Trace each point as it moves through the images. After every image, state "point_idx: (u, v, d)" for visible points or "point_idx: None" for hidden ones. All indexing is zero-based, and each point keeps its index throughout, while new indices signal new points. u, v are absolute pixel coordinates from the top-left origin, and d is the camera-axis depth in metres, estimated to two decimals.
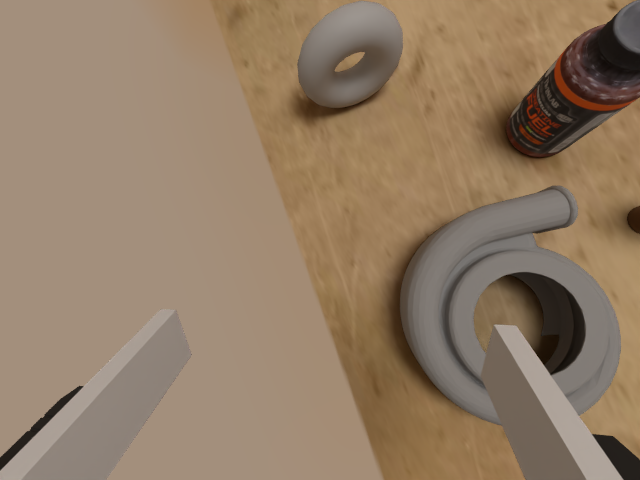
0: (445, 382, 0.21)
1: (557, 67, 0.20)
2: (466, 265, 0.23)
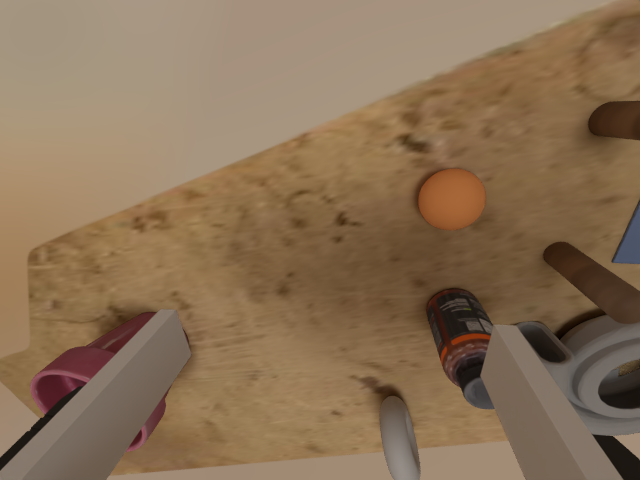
0: None
1: None
2: (574, 395, 0.31)
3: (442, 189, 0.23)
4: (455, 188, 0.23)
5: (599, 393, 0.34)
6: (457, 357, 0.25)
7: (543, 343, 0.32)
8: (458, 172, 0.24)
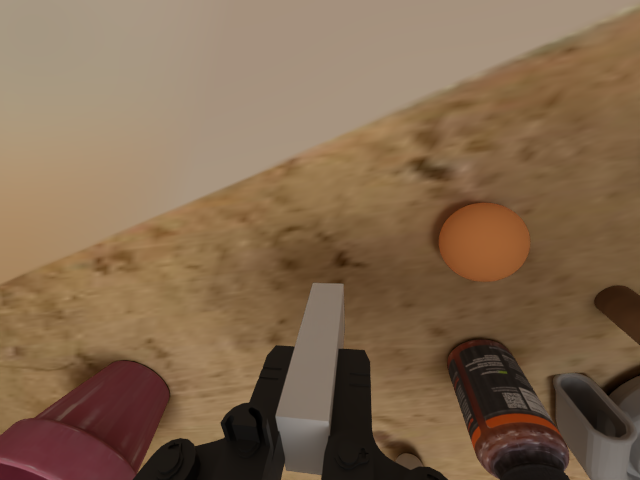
0: None
1: None
2: (630, 465, 0.25)
3: (474, 234, 0.18)
4: (491, 233, 0.17)
5: None
6: (496, 447, 0.19)
7: (589, 399, 0.26)
8: (493, 210, 0.18)
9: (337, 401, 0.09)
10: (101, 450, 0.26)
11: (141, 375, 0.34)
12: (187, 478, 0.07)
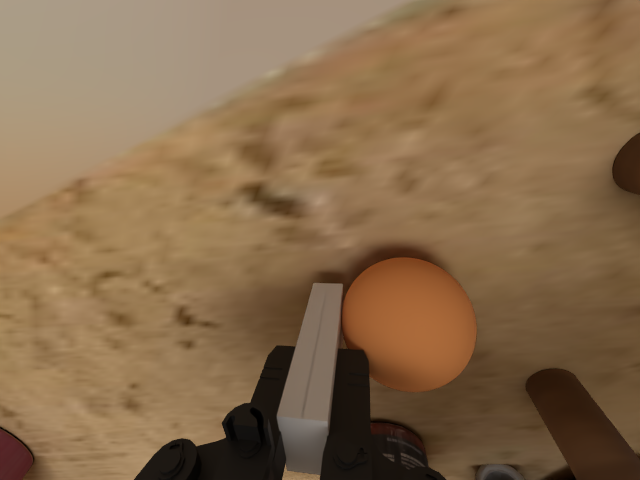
0: None
1: None
2: None
3: (413, 333, 0.10)
4: (439, 325, 0.10)
5: None
6: None
7: None
8: (424, 278, 0.10)
9: (336, 401, 0.09)
10: None
11: None
12: (188, 478, 0.07)
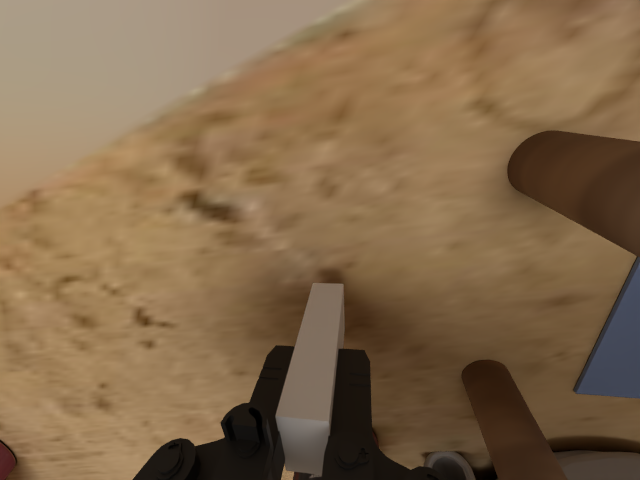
0: None
1: None
2: None
3: None
4: None
5: None
6: None
7: None
8: None
9: (337, 401, 0.09)
10: None
11: None
12: (187, 478, 0.07)
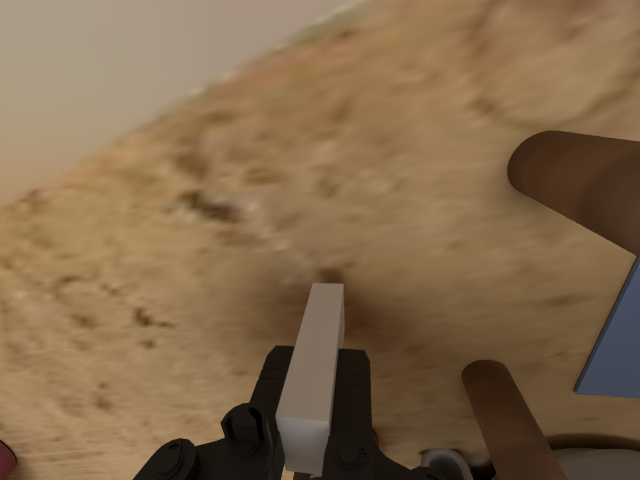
0: None
1: None
2: None
3: None
4: None
5: None
6: None
7: None
8: None
9: (337, 401, 0.09)
10: None
11: None
12: (187, 478, 0.07)
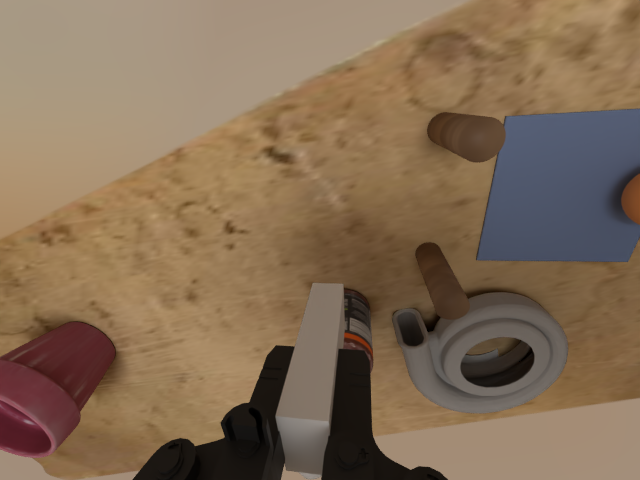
0: (527, 401, 0.32)
1: None
2: None
3: None
4: None
5: (479, 374, 0.35)
6: None
7: (421, 328, 0.34)
8: None
9: (337, 401, 0.09)
10: (44, 382, 0.33)
11: (88, 332, 0.41)
12: (187, 477, 0.07)
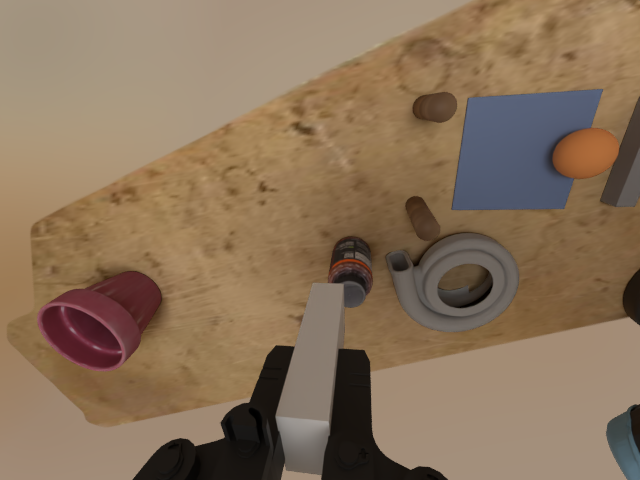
0: (490, 320, 0.41)
1: None
2: (428, 302, 0.42)
3: None
4: None
5: (455, 304, 0.44)
6: (333, 274, 0.36)
7: (408, 266, 0.43)
8: (582, 129, 0.31)
9: (337, 401, 0.09)
10: (118, 307, 0.43)
11: (142, 279, 0.51)
12: (187, 478, 0.07)
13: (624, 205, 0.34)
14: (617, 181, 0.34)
